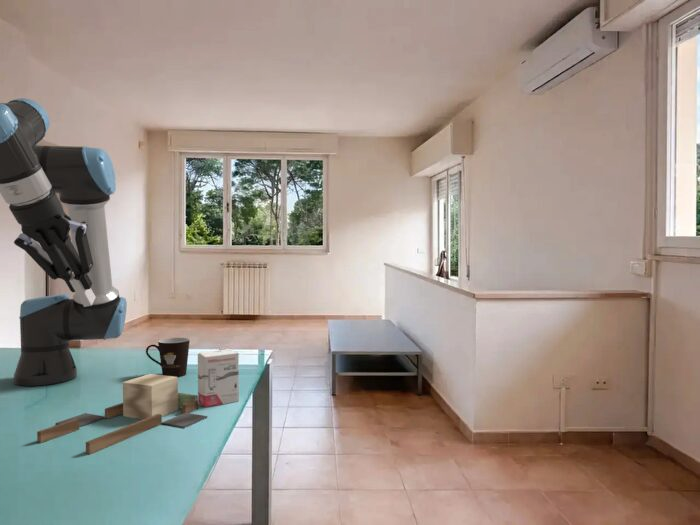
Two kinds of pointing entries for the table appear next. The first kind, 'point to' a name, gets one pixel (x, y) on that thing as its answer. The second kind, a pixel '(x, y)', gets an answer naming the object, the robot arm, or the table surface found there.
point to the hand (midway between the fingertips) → (90, 301)
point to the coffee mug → (172, 356)
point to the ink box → (218, 377)
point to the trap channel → (73, 424)
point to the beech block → (150, 396)
